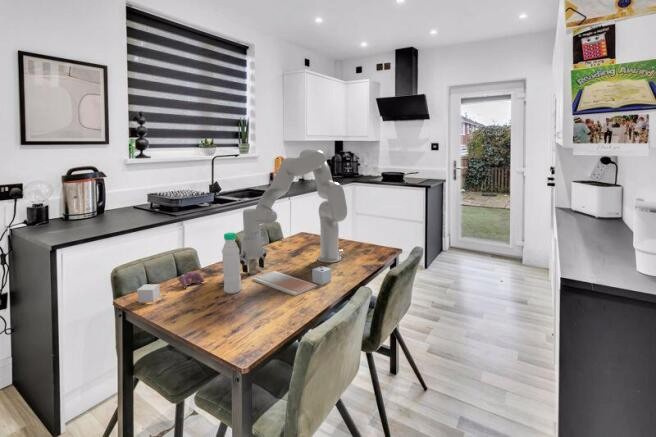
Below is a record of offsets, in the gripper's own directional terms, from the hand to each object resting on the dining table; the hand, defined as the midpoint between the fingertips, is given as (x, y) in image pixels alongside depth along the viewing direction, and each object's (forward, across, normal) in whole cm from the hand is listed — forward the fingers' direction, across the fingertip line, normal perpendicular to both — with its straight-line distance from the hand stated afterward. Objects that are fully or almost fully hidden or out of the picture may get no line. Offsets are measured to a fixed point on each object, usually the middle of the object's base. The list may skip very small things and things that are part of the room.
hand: (253, 269), depth 186 cm
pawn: (+2, 0, 0) cm, 2 cm away
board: (+2, 0, +22) cm, 22 cm away
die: (+2, -13, +32) cm, 35 cm away
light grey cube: (+2, +48, -4) cm, 48 cm away
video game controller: (+2, +28, -8) cm, 29 cm away
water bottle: (+2, +20, +12) cm, 23 cm away
